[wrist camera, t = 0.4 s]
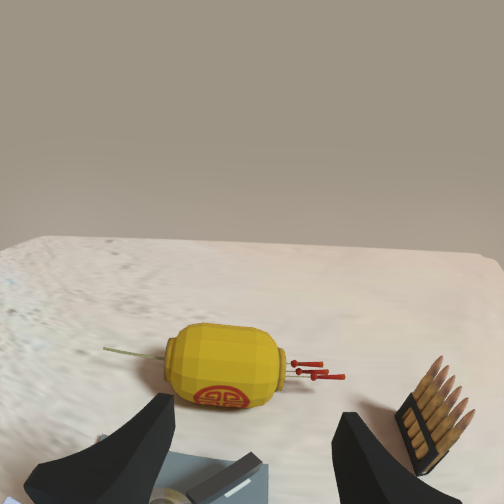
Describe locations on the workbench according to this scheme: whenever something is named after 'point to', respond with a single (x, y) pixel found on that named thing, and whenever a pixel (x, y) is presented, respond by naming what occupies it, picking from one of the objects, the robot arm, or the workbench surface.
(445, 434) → the ammunition clip
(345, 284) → the workbench surface
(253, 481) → the mounting plate
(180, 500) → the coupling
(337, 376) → the lantern
